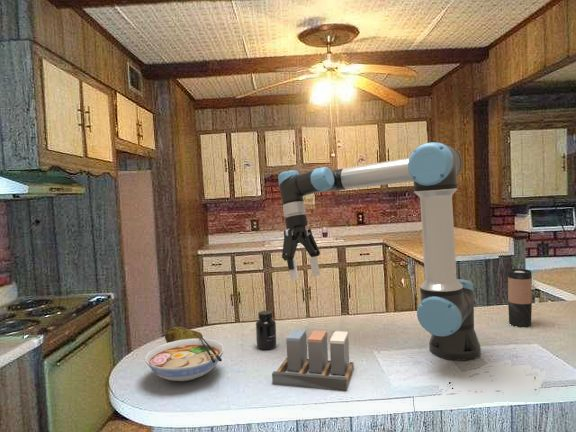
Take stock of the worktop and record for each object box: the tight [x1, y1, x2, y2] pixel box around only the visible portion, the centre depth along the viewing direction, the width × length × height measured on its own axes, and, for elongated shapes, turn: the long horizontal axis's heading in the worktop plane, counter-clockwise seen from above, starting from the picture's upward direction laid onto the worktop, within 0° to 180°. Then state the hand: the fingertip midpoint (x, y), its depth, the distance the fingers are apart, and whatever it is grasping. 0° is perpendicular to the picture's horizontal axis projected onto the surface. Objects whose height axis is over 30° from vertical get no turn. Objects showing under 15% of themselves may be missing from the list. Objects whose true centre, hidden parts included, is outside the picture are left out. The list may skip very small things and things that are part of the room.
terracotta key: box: [307, 329, 329, 374], centre depth 128 cm, size 8×4×10 cm, turn 163°
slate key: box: [285, 328, 308, 372], centre depth 130 cm, size 8×4×10 cm, turn 163°
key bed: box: [271, 357, 355, 392], centre depth 123 cm, size 14×20×3 cm
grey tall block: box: [329, 330, 350, 376], centre depth 127 cm, size 8×4×10 cm, turn 163°
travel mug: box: [507, 268, 533, 328], centre depth 158 cm, size 8×8×20 cm
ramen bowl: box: [143, 334, 225, 382], centre depth 127 cm, size 25×23×8 cm
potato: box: [164, 326, 204, 343], centre depth 149 cm, size 8×13×8 cm, turn 107°
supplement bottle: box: [255, 310, 277, 351], centre depth 147 cm, size 7×7×12 cm
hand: (305, 277), depth 145 cm, fingers open, 13 cm apart
